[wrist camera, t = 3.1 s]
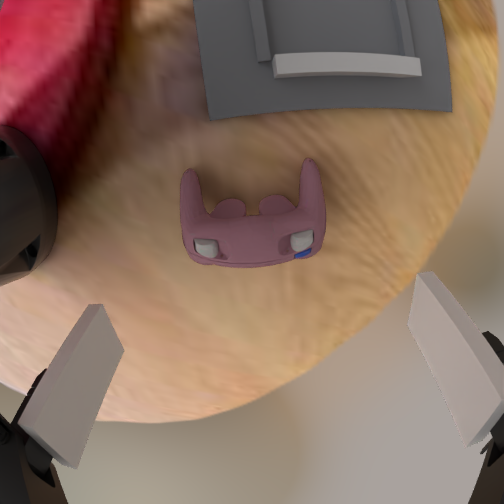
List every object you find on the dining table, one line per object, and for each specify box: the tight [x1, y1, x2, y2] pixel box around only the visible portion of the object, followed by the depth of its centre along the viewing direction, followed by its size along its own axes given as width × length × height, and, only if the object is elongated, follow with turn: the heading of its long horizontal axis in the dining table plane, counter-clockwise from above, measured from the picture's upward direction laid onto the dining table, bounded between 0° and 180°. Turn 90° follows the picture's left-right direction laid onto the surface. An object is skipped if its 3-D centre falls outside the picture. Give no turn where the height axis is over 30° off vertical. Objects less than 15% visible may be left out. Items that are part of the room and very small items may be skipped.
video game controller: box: [180, 158, 326, 268], centre depth 20 cm, size 10×5×7 cm, turn 95°
